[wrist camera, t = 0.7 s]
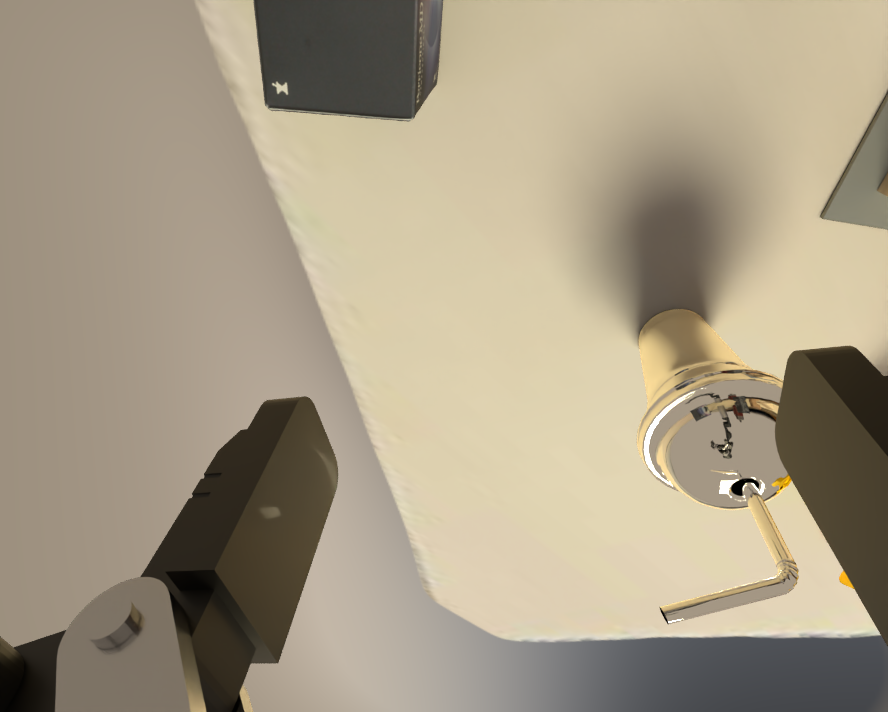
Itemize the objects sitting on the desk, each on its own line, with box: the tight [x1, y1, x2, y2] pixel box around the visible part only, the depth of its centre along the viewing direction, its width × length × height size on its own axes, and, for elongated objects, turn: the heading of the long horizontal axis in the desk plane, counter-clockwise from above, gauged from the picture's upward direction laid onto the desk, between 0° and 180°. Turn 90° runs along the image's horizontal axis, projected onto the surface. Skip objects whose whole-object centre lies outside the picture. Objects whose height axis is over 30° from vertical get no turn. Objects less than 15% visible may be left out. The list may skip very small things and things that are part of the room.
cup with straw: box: [637, 309, 799, 624], centre depth 29 cm, size 8×9×20 cm
